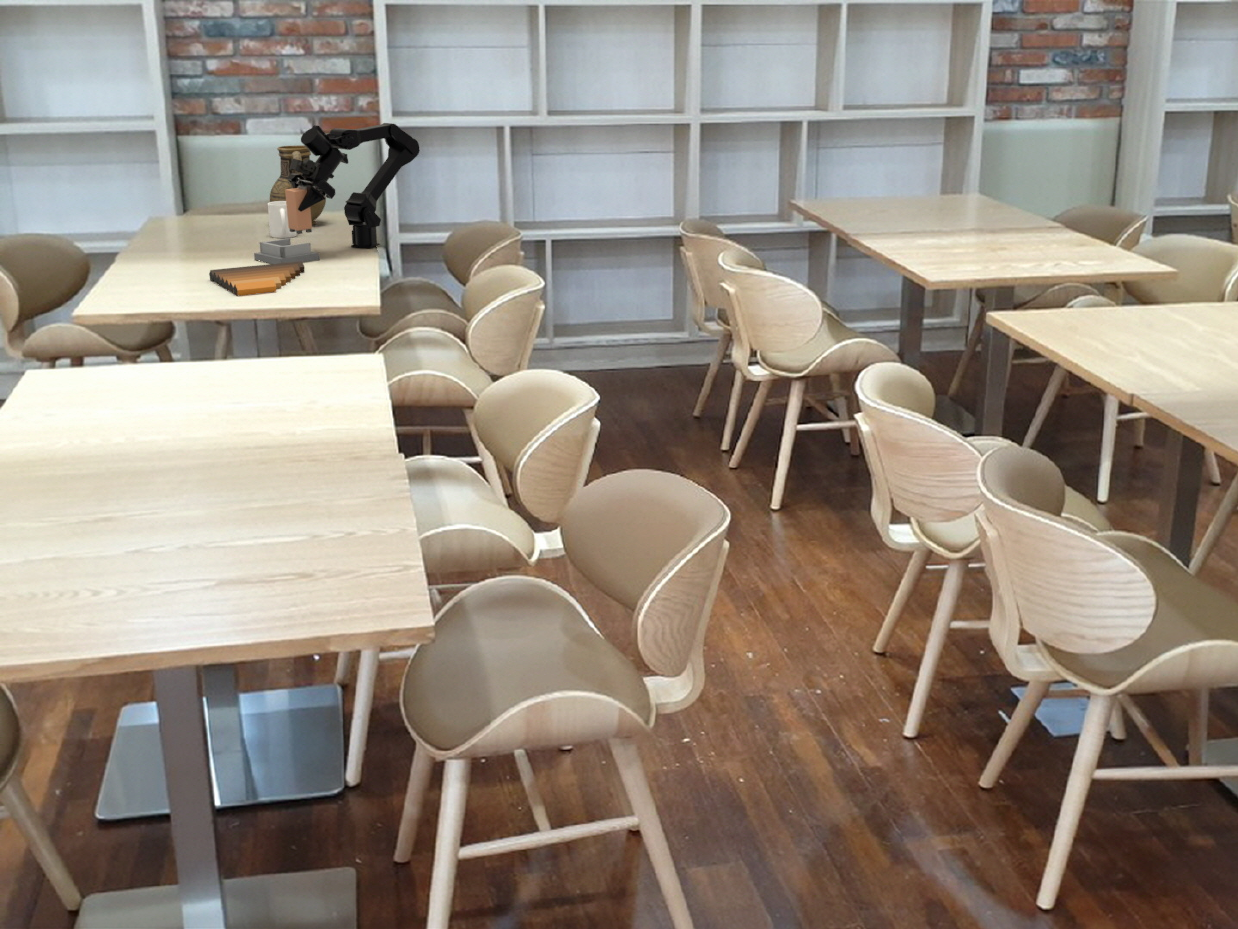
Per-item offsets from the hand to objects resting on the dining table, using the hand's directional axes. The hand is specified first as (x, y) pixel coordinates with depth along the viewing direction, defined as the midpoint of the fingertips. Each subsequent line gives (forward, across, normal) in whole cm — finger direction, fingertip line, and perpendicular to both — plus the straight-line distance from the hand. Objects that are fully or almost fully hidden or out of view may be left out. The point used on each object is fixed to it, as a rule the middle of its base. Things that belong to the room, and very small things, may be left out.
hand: (294, 209), depth 405 cm
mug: (+1, -33, +19) cm, 38 cm away
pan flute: (+27, +29, -8) cm, 40 cm away
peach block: (+4, 0, +6) cm, 7 cm away
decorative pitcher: (-9, -51, +30) cm, 60 cm away
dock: (+13, +3, +6) cm, 15 cm away
